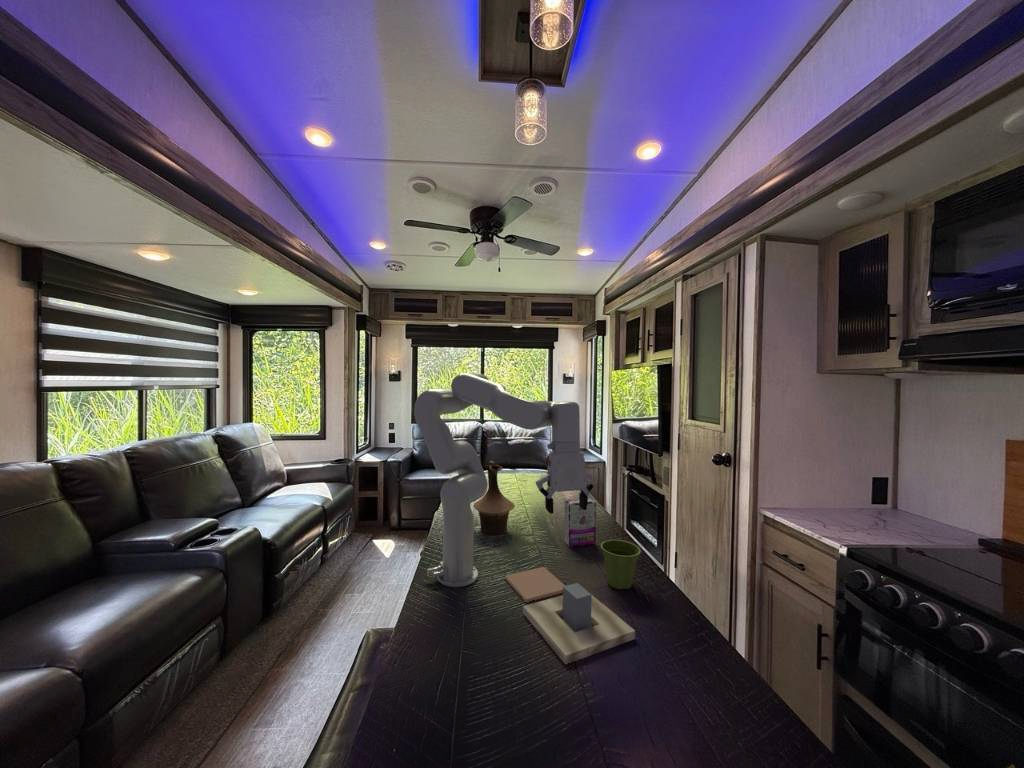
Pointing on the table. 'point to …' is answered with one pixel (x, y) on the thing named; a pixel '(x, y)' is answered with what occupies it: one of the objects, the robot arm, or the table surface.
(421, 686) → the table surface
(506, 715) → the table surface
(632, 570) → the plant pot
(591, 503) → the candy bar box
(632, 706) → the table surface
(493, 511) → the brown vase
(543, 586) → the tile
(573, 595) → the block
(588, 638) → the holder
